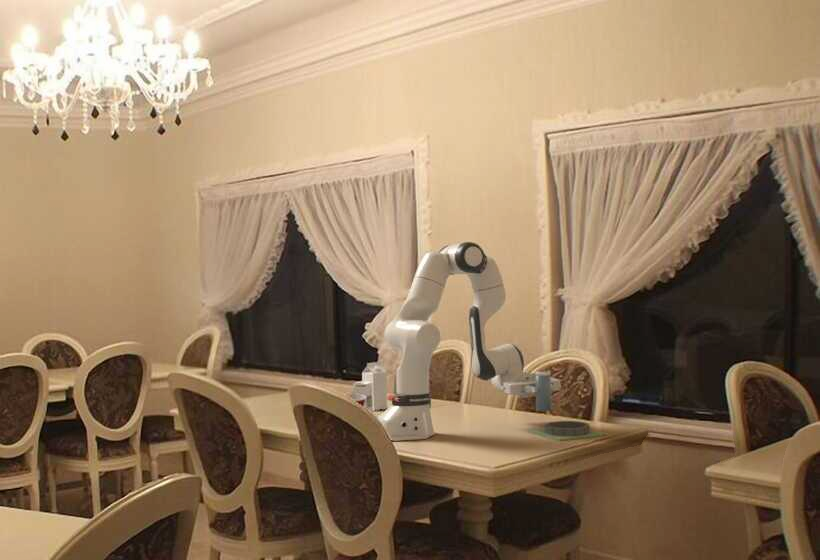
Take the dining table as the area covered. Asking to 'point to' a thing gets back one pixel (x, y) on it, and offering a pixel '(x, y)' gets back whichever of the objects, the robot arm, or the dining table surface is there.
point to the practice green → (567, 430)
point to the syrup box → (364, 392)
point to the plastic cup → (358, 398)
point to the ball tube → (543, 390)
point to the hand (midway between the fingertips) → (544, 389)
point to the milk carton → (376, 384)
